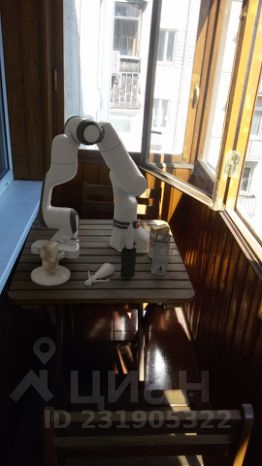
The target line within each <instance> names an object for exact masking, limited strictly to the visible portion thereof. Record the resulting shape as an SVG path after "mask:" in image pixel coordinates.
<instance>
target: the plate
mask: <svg viewBox="0 0 262 466" xmlns="http://www.w3.org/2000/svg"><path fill="white" fill-rule="evenodd" d="M30 278H31V281H32V282H34V283H35V284H38V285H39V286H43V287H54V286H59V285H62V284H64V283H67V282H68V281H69V280H70V278H71V271H70V270H69V269H68V268H67V267H65V266H62V265H59V264H58V270H57V271H56V273H55V274H49V273H43V268H42V265H41V266H38V267H36V268H34V269H33V270H32V271H31V273H30Z"/></svg>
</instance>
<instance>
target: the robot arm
mask: <svg viewBox="0 0 262 466" xmlns="http://www.w3.org/2000/svg"><path fill="white" fill-rule="evenodd" d="M81 145H83V146H87V147H88V146H89V147H90V146H94V145H96V146H97V149H98V150H99V153H100V154H101V157H102V158H103V160H104V162H105V164H106V166H107V167H108V169H109V170H110V171H109V179H110V182H111V185H112V192H113V198H114V209H113V210H114V212H113V214H114V215H113V218H112V232H111V237H110V240H109V242H108V243H109V246H110V247H112V248H113V249H115V250H117V252H120V253H122V249H123V248H124V246H126V239H127V229H128V227H129V226H130V222H132V225H133V228H134V240H133V246H134V247H135V248H136V254H148V252H149V240H150V232H148V231H147V230H146V229H144V228H143V227H142V226H141V219H140V218H137V217H138V216H137V215H138V200H137V199H136V197H140V196H142V195H143V194H145V192H146V191H147V188H148V181H147V179H146V177H145V176H144V175H143V173H142V172H141V171H140V169H139V167H138V165H137V164H136V163H135V161H134V160H133V159H132V157H131V155H130V153H129V152H128V150H127V147H126V146H125V143H124V142H123V140H122V137H121V136H120V134H119V132H118V130H117V129H116V127H115V126H114V124H113V123H112V122H111V121H109V120H105V119H104V120H100V121H98V122H97V121H96V120H94V119H91V118H89V117H87V116H82V115H81V116H80V115H72V116H70V117H68V118H67V120H66V121H65V123H64V125H63V128H62V130H61V134H58V135H56V136H55V137H54V138H53V139H52V143H51V151H50V152H51V156H50V166H49V167H50V168H49V170H48V171H46V172H45V173H44V176H43V178H42V183H41V190H40V198H39V204H38V210H37V214H36V222H37V224H38V225H39V226H40V227H41V228H42V229H56V230H57V229H58V230H57V232H56V233H55V234H54V235H53V236H52V237H51V238H50V240H47V239H38V240H36V241H34V242H33V243H32V244H31V246H30V249H31V250H30V251H31V254H36V255H39V257H40V258H41V259H42V246H43V244H44V243H45V242H46V241H49V242H57V243H58V254H57V255H56V260H58V261H60V260H61V259H64V258H66V259H73V260H75V259H78V258H79V256H80V249H81V248H80V245H81V243H80V239H79V238H78V235H79V229H80V223H81V222H80V216H79V213H78V212H77V211H76V210H75V209H74V208H70V207H57V206H52V204H51V200H52V193H53V188H54V187H56V186H58V185H61V184H65V183H67V182H69V181H70V180H72V179H74V178H75V176H76V175H77V172H78V166H79V165H78V153H79V148H80V146H81Z"/></svg>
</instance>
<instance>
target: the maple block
mask: <svg viewBox="0 0 262 466" xmlns="http://www.w3.org/2000/svg"><path fill="white" fill-rule="evenodd" d="M49 241H50V240H47V241H46V242H45V243H44V244H43V246H42V258H41V260H42V261H41V262H42V265H41V266H42V268H43V273H49V274H55V273H56V271H57V270H58V265H59V260H56V255H57V254H58V243H57V242H49Z"/></svg>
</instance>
